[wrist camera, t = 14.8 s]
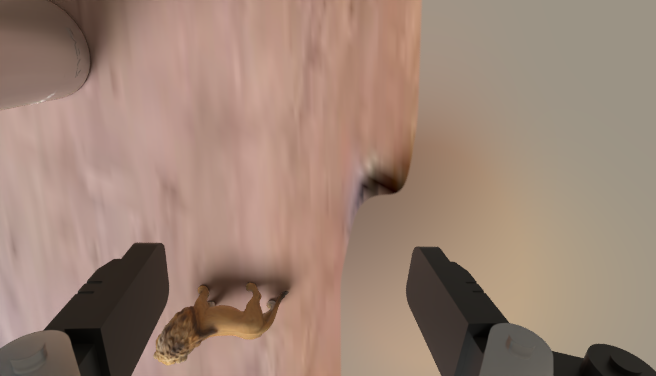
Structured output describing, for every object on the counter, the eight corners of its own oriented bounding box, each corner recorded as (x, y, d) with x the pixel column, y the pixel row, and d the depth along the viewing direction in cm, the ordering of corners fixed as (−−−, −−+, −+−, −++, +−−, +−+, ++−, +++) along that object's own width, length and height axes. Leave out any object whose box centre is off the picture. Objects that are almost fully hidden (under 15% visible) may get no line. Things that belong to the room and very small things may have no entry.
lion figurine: (180, 320, 46) (156, 380, 37) (169, 288, 44) (140, 344, 35) (291, 303, 46) (290, 359, 38) (284, 271, 44) (283, 322, 36)
